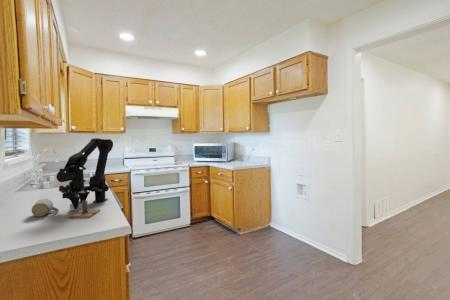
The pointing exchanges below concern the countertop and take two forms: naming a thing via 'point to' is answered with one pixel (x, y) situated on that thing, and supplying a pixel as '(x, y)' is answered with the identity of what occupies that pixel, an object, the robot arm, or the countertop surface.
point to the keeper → (84, 212)
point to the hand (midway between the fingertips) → (79, 207)
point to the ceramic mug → (43, 208)
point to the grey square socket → (77, 207)
